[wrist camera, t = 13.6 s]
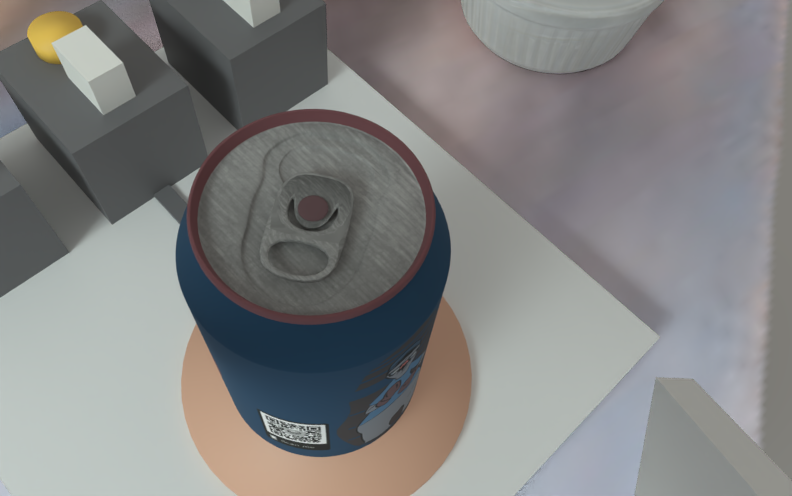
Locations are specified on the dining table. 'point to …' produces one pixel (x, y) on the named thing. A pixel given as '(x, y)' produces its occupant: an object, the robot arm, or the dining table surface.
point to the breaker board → (170, 315)
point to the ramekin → (556, 30)
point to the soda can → (314, 275)
